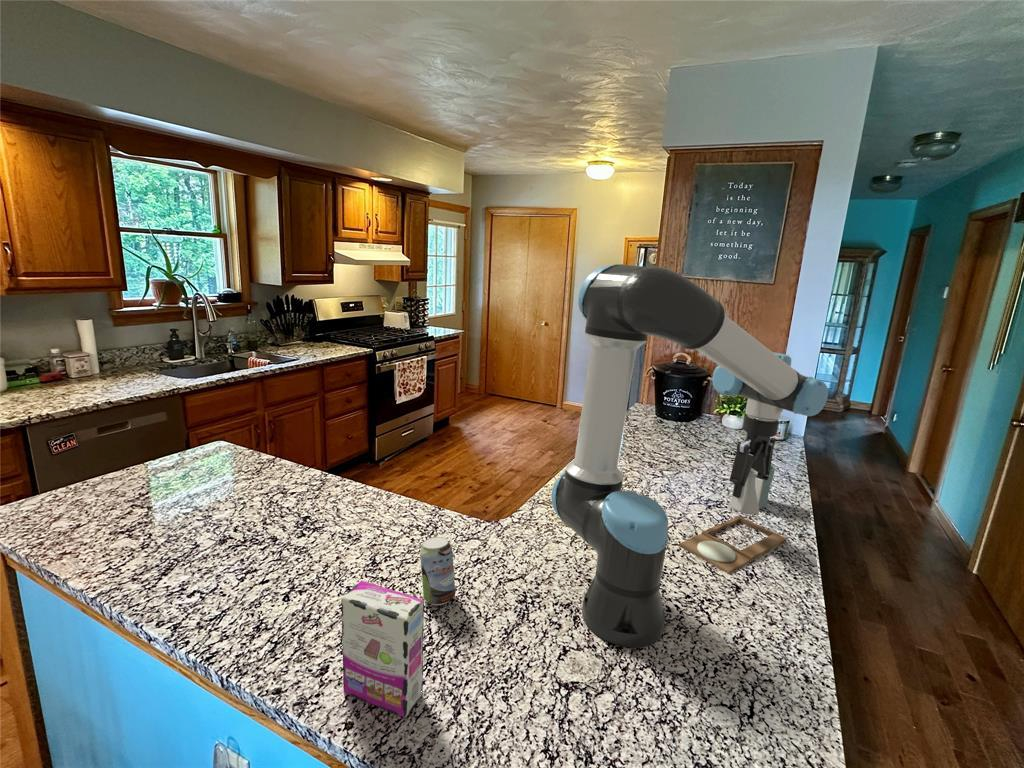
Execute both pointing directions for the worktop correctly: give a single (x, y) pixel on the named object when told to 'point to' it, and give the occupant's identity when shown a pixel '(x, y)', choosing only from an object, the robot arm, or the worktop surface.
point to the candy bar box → (383, 647)
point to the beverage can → (437, 570)
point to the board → (726, 554)
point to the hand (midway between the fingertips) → (744, 505)
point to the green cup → (765, 487)
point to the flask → (750, 496)
